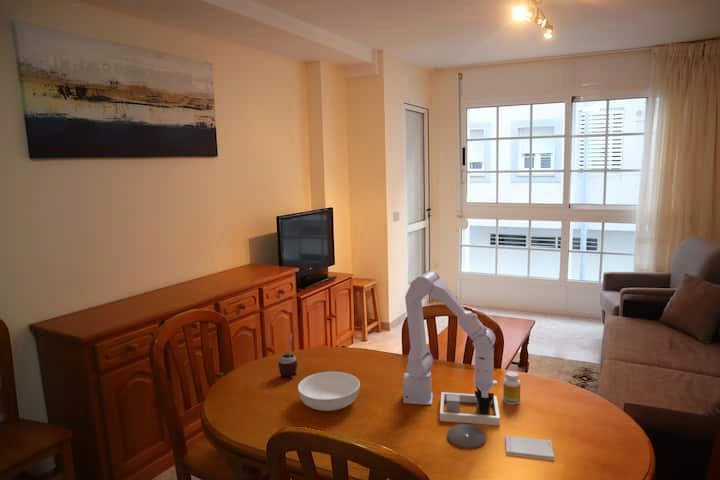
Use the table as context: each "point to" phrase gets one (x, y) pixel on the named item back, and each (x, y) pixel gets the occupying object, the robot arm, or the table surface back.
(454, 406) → the plain grey box
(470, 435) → the slate pad
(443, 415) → the white rectangular frame
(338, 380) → the serving bowl
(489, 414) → the labelled walnut box
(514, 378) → the supplement bottle
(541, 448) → the hard drive
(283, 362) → the mate gourd
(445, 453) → the table surface
